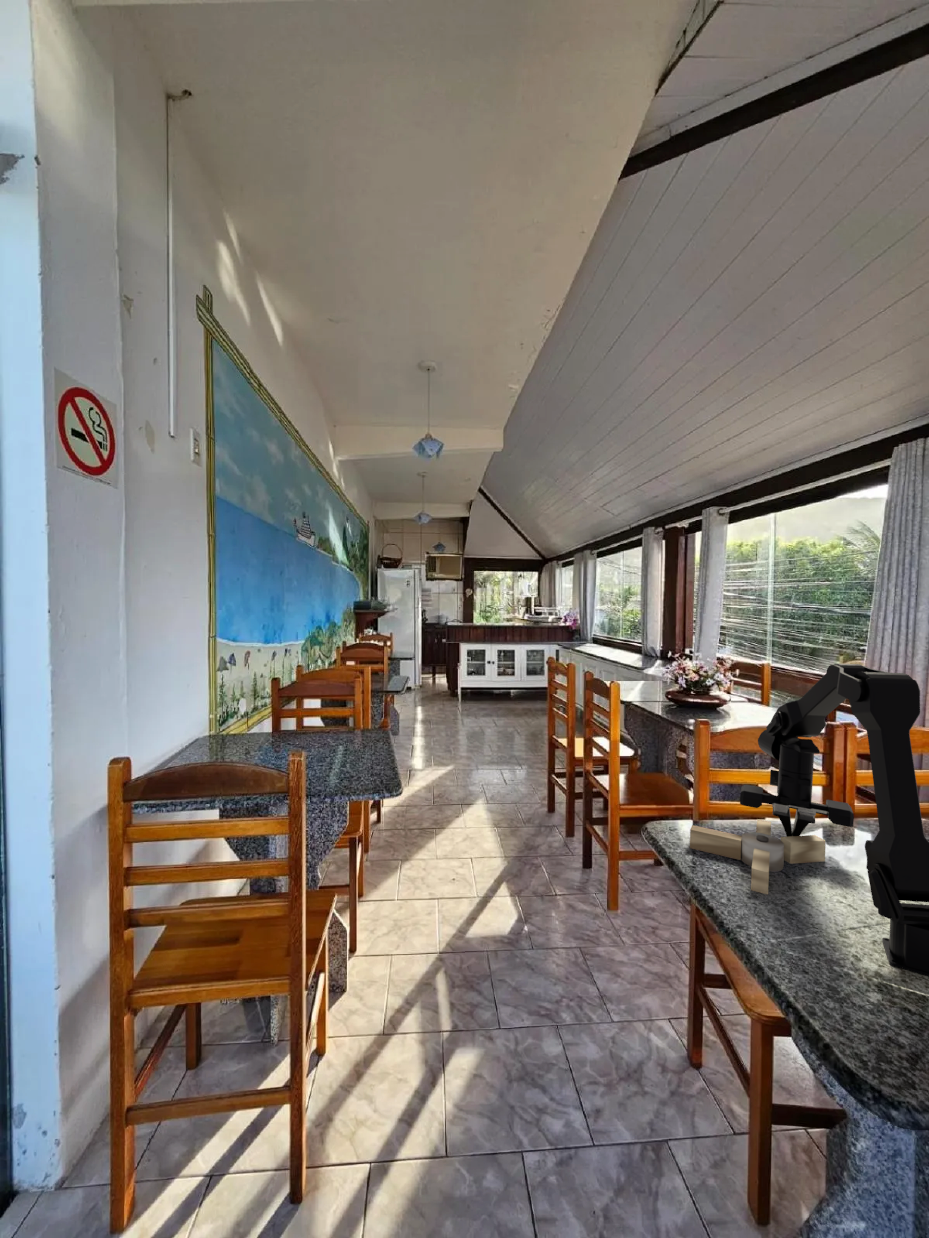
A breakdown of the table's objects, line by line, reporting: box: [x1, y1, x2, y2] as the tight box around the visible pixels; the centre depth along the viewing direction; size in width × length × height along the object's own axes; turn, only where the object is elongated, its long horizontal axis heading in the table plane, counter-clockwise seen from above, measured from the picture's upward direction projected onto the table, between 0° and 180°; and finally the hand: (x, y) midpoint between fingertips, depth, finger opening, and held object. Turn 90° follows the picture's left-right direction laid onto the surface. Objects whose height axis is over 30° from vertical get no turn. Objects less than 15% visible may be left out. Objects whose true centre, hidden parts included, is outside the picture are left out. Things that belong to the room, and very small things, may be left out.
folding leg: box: [780, 834, 827, 865], centre depth 100 cm, size 8×2×4 cm, turn 99°
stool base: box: [689, 818, 785, 895], centre depth 101 cm, size 25×16×5 cm, turn 149°
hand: (791, 846), depth 104 cm, fingers closed
